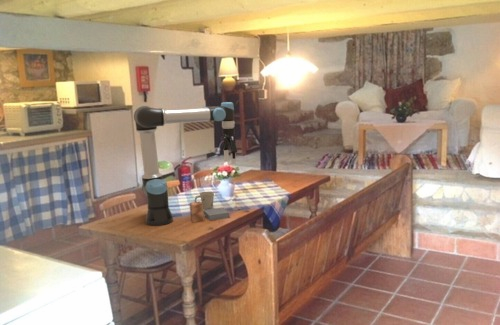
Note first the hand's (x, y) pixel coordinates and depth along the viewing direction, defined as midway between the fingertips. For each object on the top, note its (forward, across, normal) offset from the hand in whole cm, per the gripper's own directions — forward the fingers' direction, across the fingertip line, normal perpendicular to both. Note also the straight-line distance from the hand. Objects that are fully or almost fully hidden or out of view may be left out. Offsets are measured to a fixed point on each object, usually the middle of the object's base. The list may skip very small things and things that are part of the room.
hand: (230, 162), depth 292 cm
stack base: (+27, -18, +16) cm, 37 cm away
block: (+28, -20, +28) cm, 44 cm away
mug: (+28, +1, +18) cm, 33 cm away
